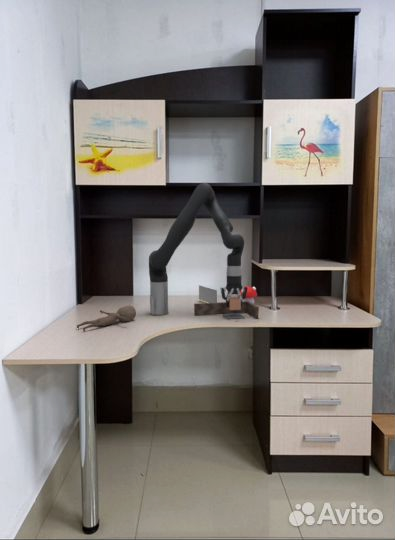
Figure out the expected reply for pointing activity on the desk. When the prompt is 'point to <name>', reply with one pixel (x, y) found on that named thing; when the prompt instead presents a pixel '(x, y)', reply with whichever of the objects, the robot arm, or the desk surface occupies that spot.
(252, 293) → the mushroom
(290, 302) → the desk surface
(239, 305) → the block
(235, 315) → the pad
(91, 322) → the toy
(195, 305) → the brown wooden corner barrier
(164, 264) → the robot arm
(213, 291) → the sign holder
